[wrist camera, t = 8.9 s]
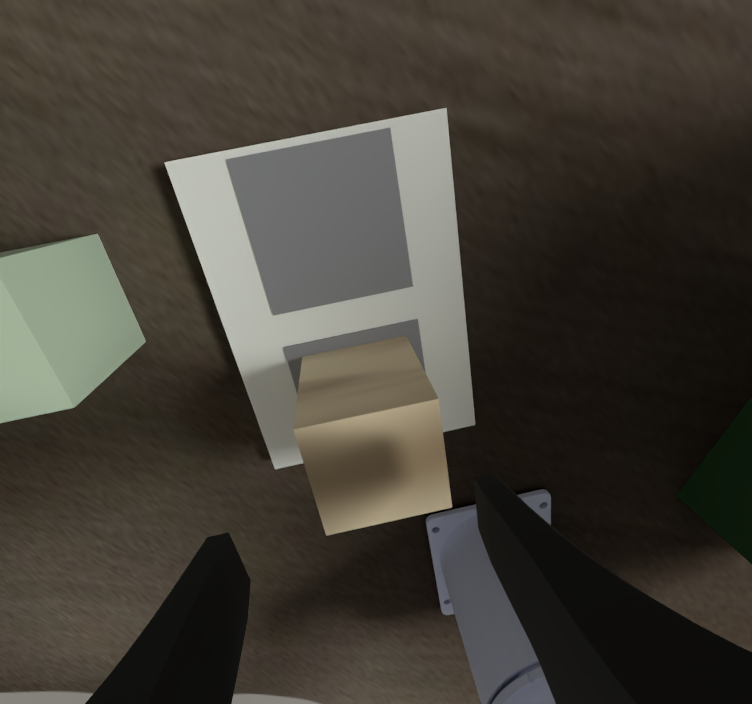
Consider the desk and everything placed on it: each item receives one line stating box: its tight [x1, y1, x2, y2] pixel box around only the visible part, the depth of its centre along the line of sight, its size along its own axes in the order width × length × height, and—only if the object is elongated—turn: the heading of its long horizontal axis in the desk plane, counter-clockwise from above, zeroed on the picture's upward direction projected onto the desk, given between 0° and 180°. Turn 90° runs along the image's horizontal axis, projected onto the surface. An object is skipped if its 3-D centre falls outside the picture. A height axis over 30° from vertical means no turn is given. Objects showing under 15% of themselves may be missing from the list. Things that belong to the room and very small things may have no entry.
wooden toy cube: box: [293, 336, 452, 536], centre depth 17 cm, size 5×5×6 cm
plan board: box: [164, 108, 475, 469], centre depth 19 cm, size 15×11×1 cm
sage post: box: [0, 234, 146, 423], centre depth 15 cm, size 5×5×6 cm
